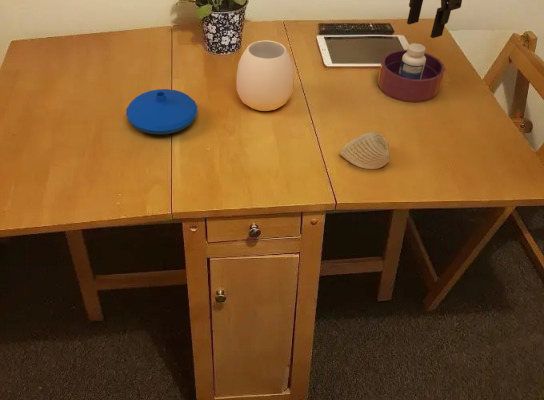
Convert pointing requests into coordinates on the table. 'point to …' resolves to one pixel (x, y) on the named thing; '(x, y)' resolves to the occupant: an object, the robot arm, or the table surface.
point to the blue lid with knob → (161, 111)
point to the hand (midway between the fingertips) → (424, 29)
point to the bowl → (408, 87)
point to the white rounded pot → (265, 75)
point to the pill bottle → (413, 62)
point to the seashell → (367, 151)
